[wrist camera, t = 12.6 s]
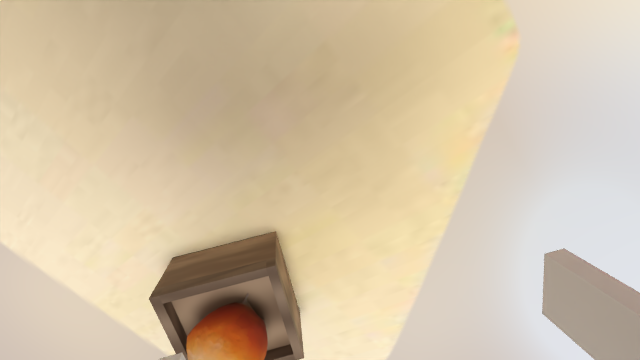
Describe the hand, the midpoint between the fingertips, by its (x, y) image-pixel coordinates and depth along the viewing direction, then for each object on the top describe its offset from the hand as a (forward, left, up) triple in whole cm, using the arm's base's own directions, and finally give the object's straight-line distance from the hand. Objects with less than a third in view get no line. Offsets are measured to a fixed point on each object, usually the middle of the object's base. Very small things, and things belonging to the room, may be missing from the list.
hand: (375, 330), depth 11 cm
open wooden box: (+15, -13, -27) cm, 33 cm away
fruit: (+15, -13, -21) cm, 29 cm away
